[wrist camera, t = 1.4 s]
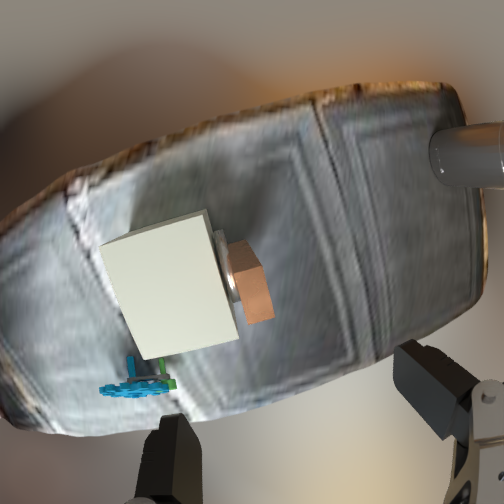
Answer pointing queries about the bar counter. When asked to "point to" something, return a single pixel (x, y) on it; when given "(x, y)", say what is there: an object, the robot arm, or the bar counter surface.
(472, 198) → the bar counter surface
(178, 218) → the block
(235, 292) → the wood and metal l-shape
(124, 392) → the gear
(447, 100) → the bar counter surface
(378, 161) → the bar counter surface
